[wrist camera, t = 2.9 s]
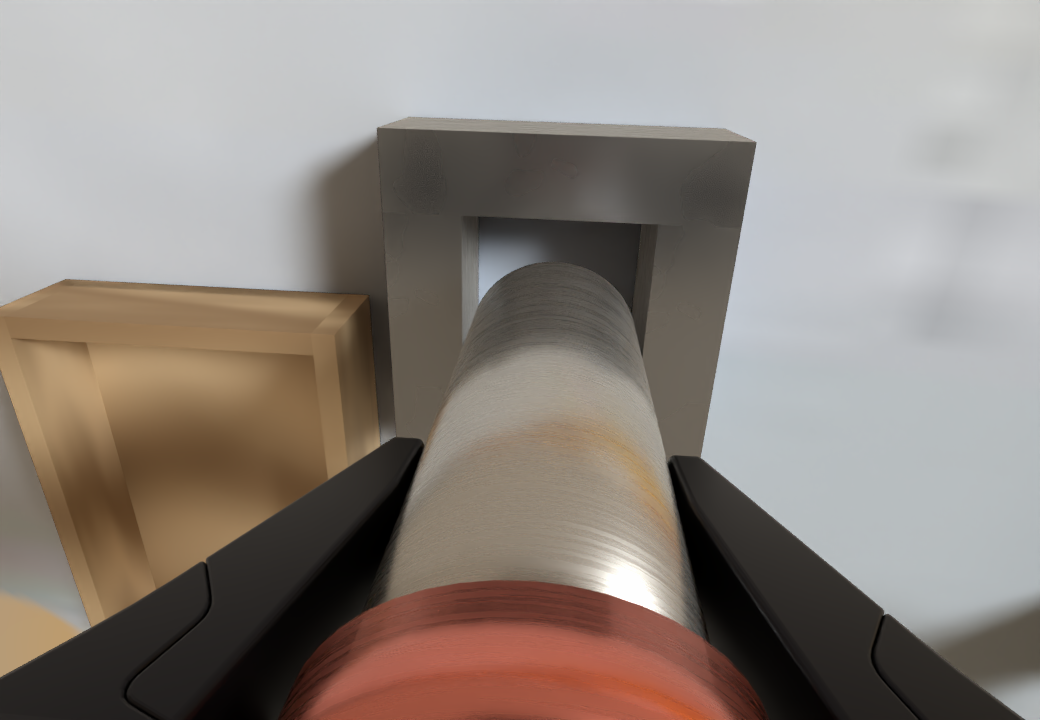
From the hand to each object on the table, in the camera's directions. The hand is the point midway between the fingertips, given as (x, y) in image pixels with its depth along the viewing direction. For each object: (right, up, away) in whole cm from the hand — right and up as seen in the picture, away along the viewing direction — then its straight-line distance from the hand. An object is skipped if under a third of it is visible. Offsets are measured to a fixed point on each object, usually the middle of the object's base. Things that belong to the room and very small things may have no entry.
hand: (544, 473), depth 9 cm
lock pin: (0, +2, +4) cm, 5 cm away
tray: (-10, -2, +13) cm, 16 cm away
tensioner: (+1, +1, +10) cm, 10 cm away
